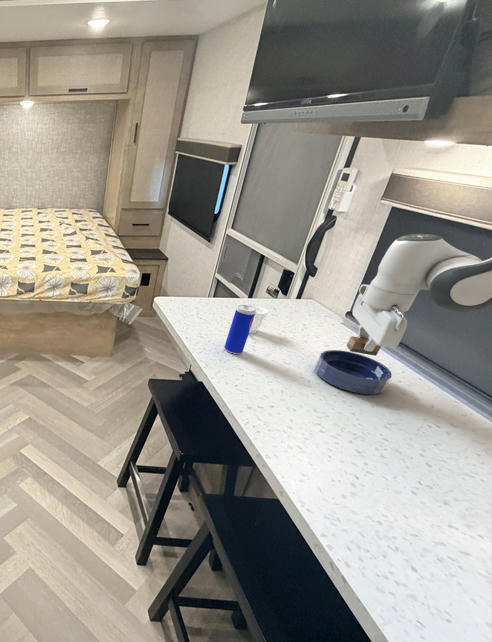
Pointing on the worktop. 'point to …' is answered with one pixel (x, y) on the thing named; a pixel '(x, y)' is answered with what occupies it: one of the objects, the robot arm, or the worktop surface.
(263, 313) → the cup
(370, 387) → the bowl
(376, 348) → the eraser
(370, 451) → the worktop surface
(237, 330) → the beverage can
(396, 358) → the worktop surface
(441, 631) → the worktop surface
